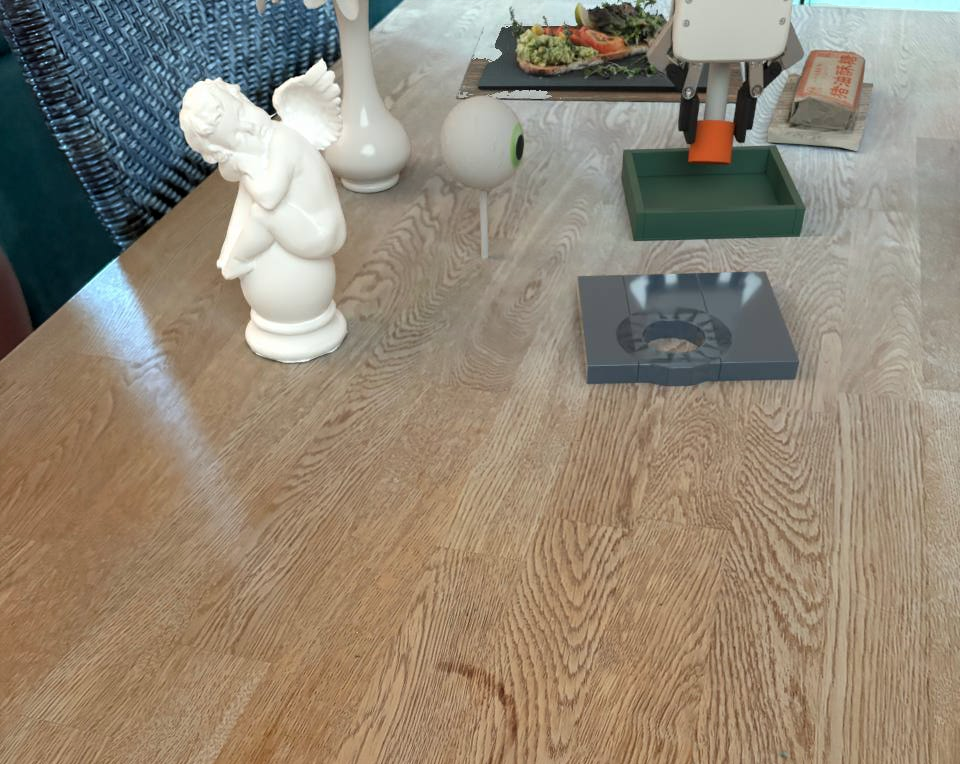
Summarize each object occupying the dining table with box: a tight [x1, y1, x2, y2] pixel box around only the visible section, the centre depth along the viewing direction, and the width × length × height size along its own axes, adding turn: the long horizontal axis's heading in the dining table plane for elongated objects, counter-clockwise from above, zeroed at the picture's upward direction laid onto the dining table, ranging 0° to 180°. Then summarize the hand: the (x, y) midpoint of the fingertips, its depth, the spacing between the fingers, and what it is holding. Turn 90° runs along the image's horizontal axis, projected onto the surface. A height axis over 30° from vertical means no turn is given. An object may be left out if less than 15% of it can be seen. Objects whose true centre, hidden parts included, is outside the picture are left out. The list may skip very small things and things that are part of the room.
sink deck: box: [576, 270, 800, 387], centre depth 83 cm, size 16×15×3 cm
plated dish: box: [455, 0, 744, 103], centre depth 129 cm, size 35×28×7 cm
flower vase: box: [254, 0, 413, 194], centre depth 99 cm, size 13×18×25 cm
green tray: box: [620, 144, 807, 242], centre depth 101 cm, size 16×15×3 cm
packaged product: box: [767, 49, 874, 152], centre depth 114 cm, size 18×5×10 cm
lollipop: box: [439, 96, 525, 260], centre depth 89 cm, size 7×7×15 cm
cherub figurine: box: [178, 57, 349, 364], centre depth 80 cm, size 12×12×22 cm
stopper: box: [688, 62, 735, 165], centre depth 96 cm, size 4×4×9 cm
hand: (713, 136), depth 97 cm, fingers closed on stopper, 4 cm apart
